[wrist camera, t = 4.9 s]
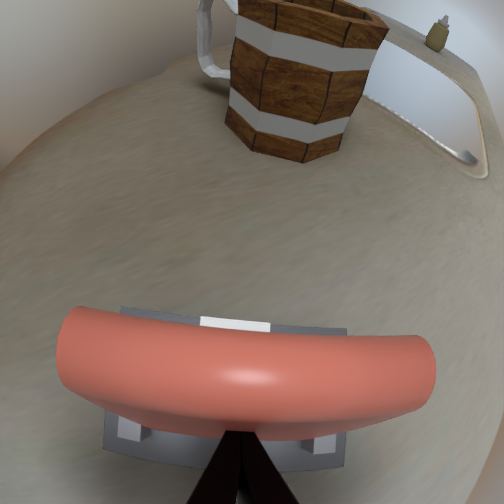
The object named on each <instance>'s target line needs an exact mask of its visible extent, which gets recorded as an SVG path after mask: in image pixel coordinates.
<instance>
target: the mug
mask: <svg viewBox="0 0 504 504" xmlns="http://www.w3.org/2000/svg"><path fill="white" fill-rule="evenodd" d="M223 1H224V2H225V3H226V5H227V6H228V8H229V9H230V11H231V12H232V13H233V14H234V15H236V16H238V21H237V28H236V37H235V41H234V46H233V50H232V55H231V60H230V70H221V69H220V68H218V67H217V66H216V65H214V63H213V59H212V56H211V36H212V21H211V6H212V3H213V0H200V1H199V4H198V6H197V27H198V33H197V36H198V37H197V51H198V60H199V62H200V65H201V68H202V71H203V72H205V73H206V74H207V75H209V76H210V77H211V78H212V79H223V80H229V81H230V85H231V87H230V98H229V106H228V110H227V115H226V119H225V124H226V125H227V126H228V127H229V128H230V129H231V130H232V131H233V132H234V133H235V134H236V135H237V137H238V138H239V139H240V140H241V141H242V142H243V143H244V144H245V145H246V146H247V147H248V148H249V149H250V150H251V151H253V152H257V153H262V154H266V155H271V156H275V157H279V158H283V159H287V160H291V161H295V162H299V163H303V164H304V163H306V162H309V161H312V160H314V159H317V158H320V157H322V156H325V155H328V154H330V153H333V152H336V151H338V150H339V146H340V143H341V139H342V135H343V132H344V130H345V128H346V125H347V123H348V121H349V118H350V116H351V114H352V112H353V111H354V109H355V107H356V105H357V103H358V102H359V100H360V98H361V96H362V94H363V90H364V87H365V84H366V80H367V77H368V73H369V70H370V67H371V65H372V62H373V60H374V57H375V55H376V52H377V50H378V48H379V46H380V45H381V43H382V41H383V40H384V38H385V36H386V34H387V33H388V31H389V28H388V26H387V25H386V24H385V23H384V22H383V21H382V20H381V19H380V17H378V16H376V15H374V14H372V13H370V12H368V11H366V10H364V9H362V8H359V7H357V6H355V5H353V4H350V3H348V2H345V1H343V0H223Z"/></svg>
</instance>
